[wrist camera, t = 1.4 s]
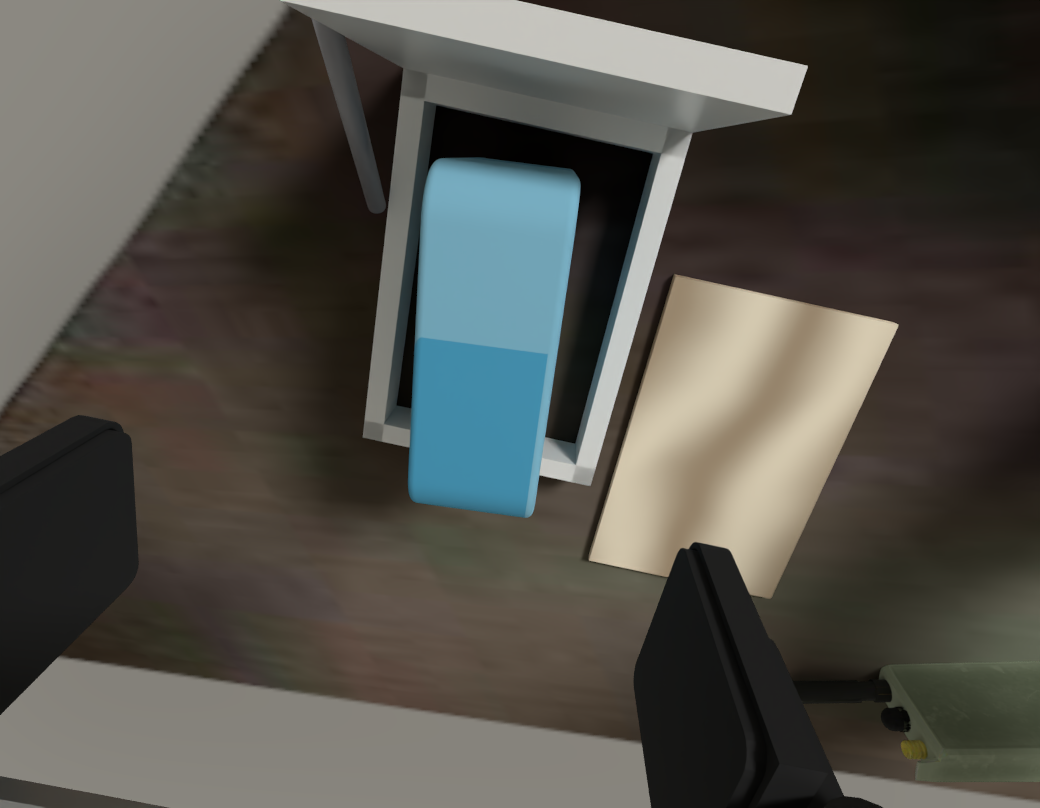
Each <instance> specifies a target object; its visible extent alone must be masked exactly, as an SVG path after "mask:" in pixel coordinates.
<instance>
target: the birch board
mask: <svg viewBox="0 0 1040 808" xmlns="http://www.w3.org/2000/svg"><path fill="white" fill-rule="evenodd" d="M898 326H899V325H898V324H896V323H894V322H890V321H886V320H881V319H877V318H872V317H867V316H863V315H858V314H854V313H849V312H845V311H840V310H835V309H831V308H826V307H822V306H817V305H813V304H808V303H804V302H799V301H794V300H790V299H785V298H781V297H776V296H772V295H767V294H762V293H758V292H753V291H749V290H744V289H740V288H735V287H730V286H726V285H721V284H717V283H712V282H708V281H703V280H698V279H694V278H689V277H685V276H680V275H676V274H674V276H673V279H672V282H671V285H670V289H669V292H668V295H667V299H666V302H665V305H664V309H663V312H662V315H661V318H660V322H659V325H658V328H657V332H656V335H655V338H654V341H653V345H652V348H651V351H650V355H649V358H648V361H647V365H646V368H645V371H644V374H643V378H642V381H641V384H640V388H639V391H638V394H637V397H636V401H635V404H634V407H633V411H632V414H631V417H630V421H629V424H628V427H627V430H626V434H625V437H624V440H623V444H622V447H621V450H620V453H619V457H618V460H617V463H616V467H615V470H614V473H613V477H612V480H611V483H610V486H609V490H608V493H607V496H606V500H605V503H604V506H603V509H602V513H601V516H600V519H599V523H598V526H597V529H596V532H595V536H594V539H593V542H592V546H591V549H590V552H589V561H594V562H598V563H603V564H608V565H612V566H617V567H622V568H627V569H631V570H636V571H641V572H646V573H650V574H655V575H660V576H665V577H668V576H669V574H670V571H671V568H672V566H673V563H674V560H675V558H676V555H677V553H678V551H679V550H680V549H681V548H686V549H689V547H690V546H691V545H692V543H694V542H699V543H704V544H709V545H713V546H718V547H723V548H727V549H729V550H730V552H731V553H732V555H733V558H734V560H735V562H736V565H737V567H738V569H739V571H740V574H741V576H742V578H743V581H744V583H745V585H746V587H747V590H748V592H749V594H750V595H755V596H759V597H764V598H769V599H771V597H772V595H773V593H774V591H775V589H776V587H777V585H778V582H779V580H780V578H781V576H782V574H783V572H784V570H785V567H786V565H787V563H788V561H789V559H790V557H791V555H792V552H793V550H794V548H795V546H796V544H797V542H798V540H799V537H800V535H801V533H802V531H803V529H804V527H805V525H806V523H807V520H808V518H809V516H810V514H811V512H812V510H813V508H814V505H815V503H816V501H817V499H818V497H819V495H820V493H821V490H822V488H823V486H824V484H825V482H826V480H827V478H828V475H829V473H830V471H831V469H832V467H833V465H834V463H835V460H836V458H837V456H838V454H839V452H840V450H841V448H842V445H843V443H844V441H845V439H846V437H847V435H848V433H849V430H850V428H851V426H852V424H853V422H854V420H855V418H856V415H857V413H858V411H859V409H860V407H861V405H862V403H863V401H864V398H865V396H866V394H867V392H868V390H869V388H870V386H871V383H872V381H873V379H874V377H875V375H876V373H877V371H878V368H879V366H880V364H881V362H882V360H883V358H884V356H885V353H886V351H887V349H888V347H889V345H890V343H891V341H892V338H893V336H894V334H895V332H896V330H897V328H898Z"/></svg>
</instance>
